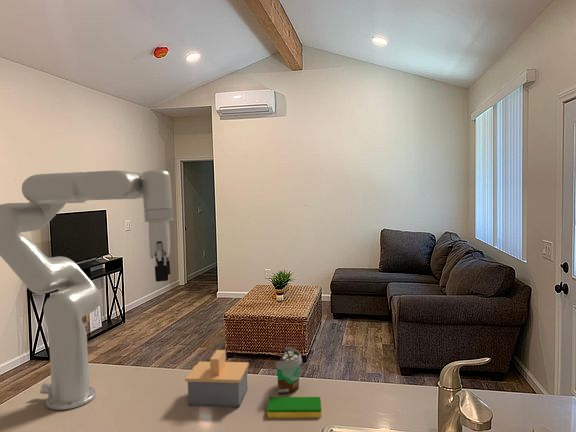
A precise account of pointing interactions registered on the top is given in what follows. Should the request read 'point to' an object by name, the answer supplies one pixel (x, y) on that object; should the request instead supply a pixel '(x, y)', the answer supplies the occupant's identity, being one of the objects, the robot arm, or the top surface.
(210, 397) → the tub
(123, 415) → the top surface
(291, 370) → the food container
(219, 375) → the lid
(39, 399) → the top surface
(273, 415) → the dish sponge
